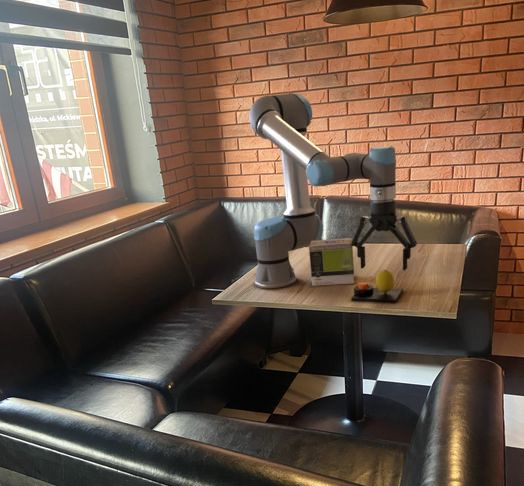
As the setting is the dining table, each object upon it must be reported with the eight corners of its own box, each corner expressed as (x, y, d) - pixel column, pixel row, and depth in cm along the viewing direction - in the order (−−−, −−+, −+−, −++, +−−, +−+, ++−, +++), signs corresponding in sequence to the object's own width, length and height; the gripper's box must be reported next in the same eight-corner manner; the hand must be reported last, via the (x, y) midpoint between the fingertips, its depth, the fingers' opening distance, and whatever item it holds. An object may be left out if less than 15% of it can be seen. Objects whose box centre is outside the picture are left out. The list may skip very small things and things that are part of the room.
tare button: (357, 289, 174) (357, 284, 173) (360, 286, 176) (359, 281, 176) (366, 290, 172) (366, 284, 172) (369, 287, 175) (369, 281, 174)
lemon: (394, 296, 168) (393, 271, 166) (376, 296, 170) (375, 272, 167) (393, 290, 173) (393, 266, 171) (376, 291, 175) (375, 267, 172)
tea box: (354, 276, 197) (352, 236, 192) (354, 284, 187) (352, 243, 182) (313, 278, 200) (310, 239, 194) (311, 286, 190) (308, 245, 185)
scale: (349, 301, 172) (349, 292, 171) (359, 290, 181) (359, 281, 180) (395, 303, 165) (395, 294, 164) (402, 292, 175) (402, 283, 174)
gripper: (339, 203, 163) (342, 269, 171) (422, 202, 153) (421, 273, 160) (347, 198, 170) (349, 263, 177) (427, 197, 159) (426, 266, 167)
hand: (383, 268), depth 169 cm, fingers open, 13 cm apart
